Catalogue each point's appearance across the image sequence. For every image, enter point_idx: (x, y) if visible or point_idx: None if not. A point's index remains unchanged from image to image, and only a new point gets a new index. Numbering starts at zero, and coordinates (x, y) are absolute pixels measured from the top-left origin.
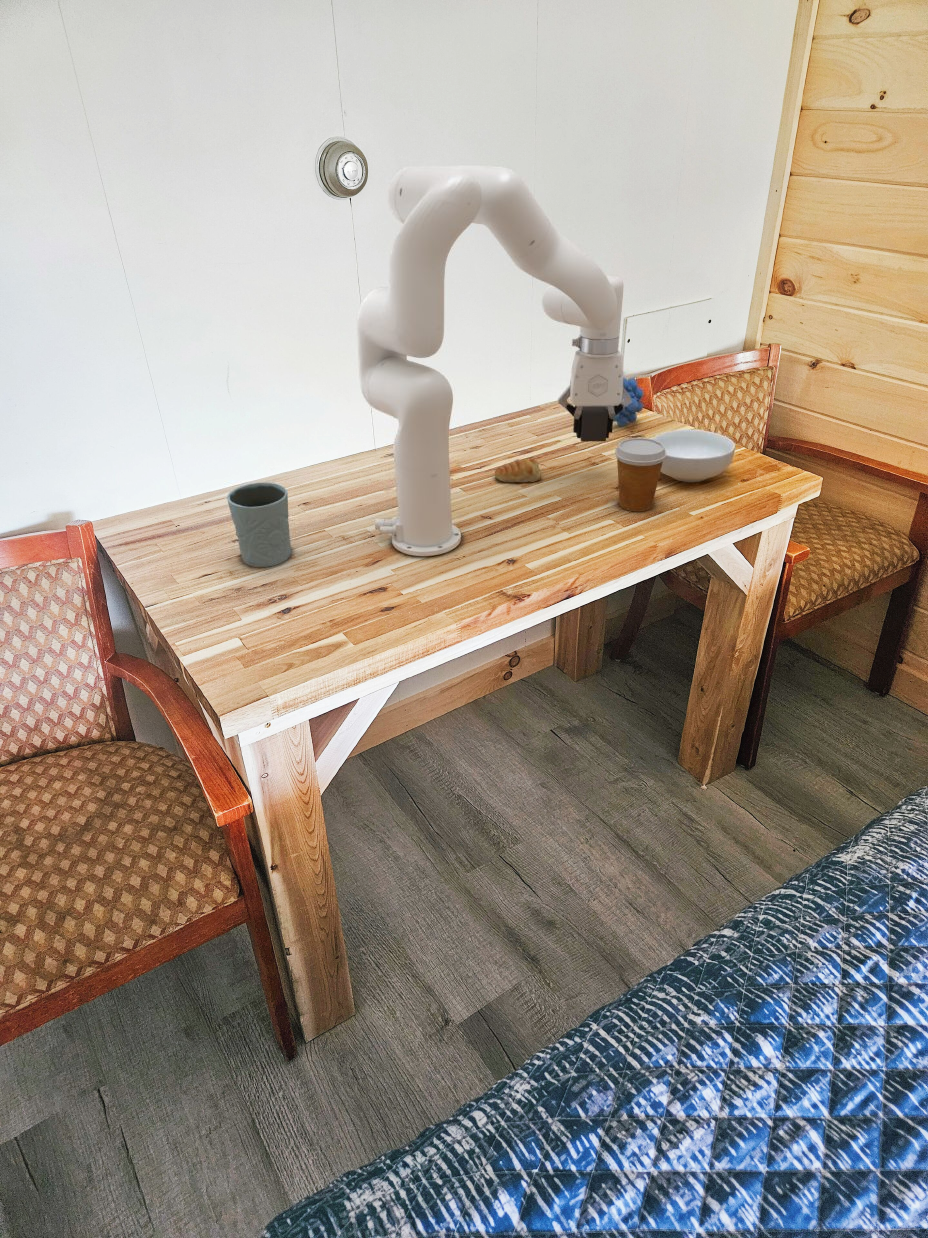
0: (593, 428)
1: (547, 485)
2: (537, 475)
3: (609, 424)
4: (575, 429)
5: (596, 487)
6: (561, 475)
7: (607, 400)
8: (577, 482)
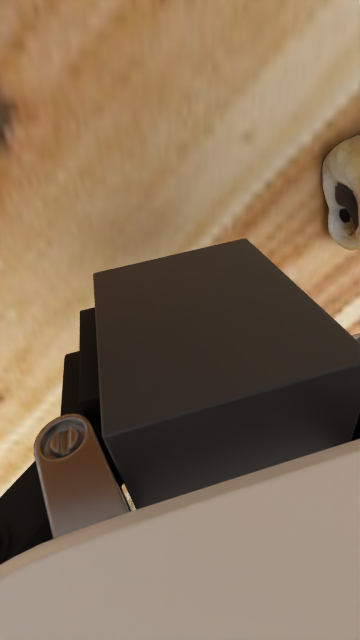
0: (201, 294)
1: (300, 108)
2: (347, 144)
3: (82, 367)
4: None
5: (101, 110)
6: (243, 218)
7: (143, 620)
8: (186, 158)
